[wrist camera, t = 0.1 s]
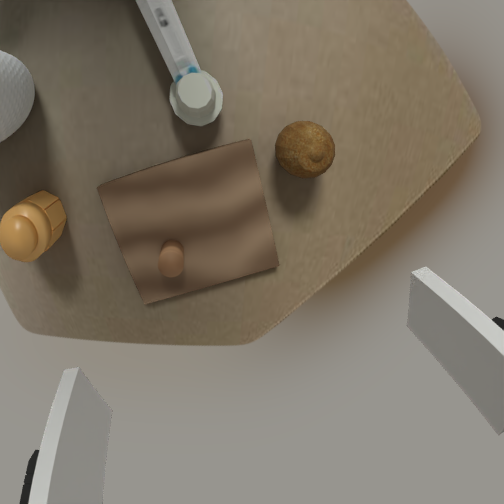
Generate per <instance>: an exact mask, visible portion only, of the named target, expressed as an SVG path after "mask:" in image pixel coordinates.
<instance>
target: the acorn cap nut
mask: <svg viewBox="0 0 504 504" xmlns="http://www.w3.org/2000/svg"><path fill="white" fill-rule="evenodd" d="M58 199H59V198H58V197H56V196H54V195H52V194H50V193H48V192H46V191H44V190H43V191H39V192H37V193H35V194H33V195H31V196H29V197H27V198H26V199H24V200H22V201H21V202H19V203H17V204H16V205H14V206H13V207H12V208H11V209H9V210H8V211H7V212H6V213H5V214H4V216H3V217H2V220H1V223H0V243H1V246H2V248H3V250H4V252H5V253H6V254H7V255H8V256H9V257H11V258H12V259H15V260H19V261H22V262H31V261H34V260H36V259H37V258H38V257H39V256H40V255H41V254H42V253H43V252H45V251H47V250H48V249H49V248H50V247H51V246H52V245H53V244H54V243H55V242H56V240H57V239H58V238H59V237H60V236H61V235H62V232H63V229H64V226H65V223H66V220H67V219H66V217H67V216H66V214H65V211H64V209H63V206H62V203H61V201H60V200H58Z"/></svg>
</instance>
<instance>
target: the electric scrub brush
mask: <svg viewBox="0 0 504 504" xmlns="http://www.w3.org/2000/svg"><path fill="white" fill-rule="evenodd" d="M136 2H137V4H138V7H139V9H140V11H141V13H142V15H143V17H144V19H145V21H146V23H147V25H148V27H149V29H150V31H151V34H152V36H153V38H154V40H155V42H156V44H157V46H158V48H159V50H160V52H161V54H162V56H163V59H164V61H165V63H166V65H167V67H168V69H169V71H170V73H171V75H172V77H173V79H174V81H173V83H172V84H171V87H170V99H169V100H170V103H171V105H172V107H173V110H174V112H175V114H176V115H177V116H178V117H179V118H181V119H182V120H183V121H184V122H186V123H187V124H189V125H195V126H201V127H202V126H204V125H206V124H209V123H211V122H213V121H214V120H215V119H216V117H217V116H218V114H219V113H220V111H221V110H222V100H223V93H222V91H221V89H220V86H219V84H218V82H217V80H216V79H215V78H213V77H212V76H211V75H209V74H208V73H207V72H206V71H202V70H200V67H199V65H198V62H197V60H196V58H195V55H194V53H193V50H192V48H191V45H190V43H189V41H188V38H187V36H186V33H185V31H184V29H183V26H182V24H181V22H180V19H179V17H178V14H177V12H176V10H175V7H174V5H173V3H172V0H136Z"/></svg>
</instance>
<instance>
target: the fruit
mask: <svg viewBox="0 0 504 504" xmlns="http://www.w3.org/2000/svg"><path fill="white" fill-rule="evenodd" d="M275 150H276V157H277V159H278V161H279V163H280V165H281V166H282V167H283V168H284V169H285V170H286V171H287V172H289V173H290V174H292V175H295V176H298V177H301V178H313V177H317V176H319V175H321V174H323V173H325V172H326V171H327V169H328V168H329V167H330V166H331V165H332V162H333V159H334V157H335V144H334V142H333V139H332V137H331V135H330V134H329V133H328V132H327V131H326V130H325V129H324V128H323V127H322V126H320V125H318V124H315V123H313V122H310V121H298V122H294V123H292V124H290V125H288V126H286V127H285V128H284V129H283V130H282V131H281V133H280V134H279V135H278V138H277V141H276V144H275Z"/></svg>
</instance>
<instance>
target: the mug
mask: <svg viewBox="0 0 504 504" xmlns="http://www.w3.org/2000/svg"><path fill="white" fill-rule="evenodd" d="M34 96H35V89H34V82H33V78H32V76H31V73H30V72H29V70H28V69H27V68H26V66H25V65H24V64H23V63H22V62H21V61H19V60H18V59H17V58H16V57H14V56H12V55H10V54H8V53H6V52H2V51H1V50H0V142H1V141H3V140H5V139H6V138H7V137H9V136H11V135H12V134H13V133H14V132H15V131H16V130H17V129H18V128H20V126H21V125H22V124H23V123H24V121H25V120H26V118H27V117H28V115H29V113H30V111H31V109H32V106H33V102H34Z"/></svg>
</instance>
